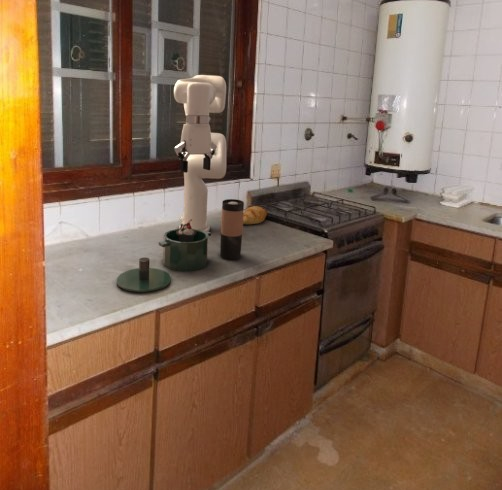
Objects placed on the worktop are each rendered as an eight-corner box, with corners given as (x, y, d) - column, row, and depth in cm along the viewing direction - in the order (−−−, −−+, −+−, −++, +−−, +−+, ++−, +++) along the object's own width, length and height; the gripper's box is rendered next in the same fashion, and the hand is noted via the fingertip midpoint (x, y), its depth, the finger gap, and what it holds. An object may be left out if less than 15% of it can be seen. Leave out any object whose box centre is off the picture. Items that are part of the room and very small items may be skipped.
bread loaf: (247, 234, 191) (255, 221, 187) (230, 220, 194) (238, 206, 191) (269, 222, 209) (277, 210, 205) (253, 209, 212) (261, 197, 209)
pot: (147, 262, 146) (148, 234, 144) (195, 249, 160) (196, 224, 158) (173, 276, 136) (174, 247, 134) (221, 262, 150) (223, 235, 148)
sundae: (193, 265, 145) (195, 221, 142) (173, 263, 145) (175, 220, 142) (196, 257, 151) (198, 215, 148) (177, 256, 151) (178, 214, 148)
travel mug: (244, 254, 158) (247, 200, 154) (236, 261, 151) (239, 205, 147) (224, 250, 161) (227, 198, 157) (216, 257, 153) (218, 202, 150)
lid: (107, 279, 131) (107, 257, 130) (152, 267, 142) (152, 246, 141) (134, 299, 120) (134, 274, 119) (180, 284, 131) (181, 261, 130)
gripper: (210, 119, 155) (208, 167, 158) (169, 119, 143) (167, 171, 146) (224, 121, 150) (221, 170, 153) (183, 121, 137) (181, 174, 141)
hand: (195, 170), depth 149 cm, fingers open, 9 cm apart
